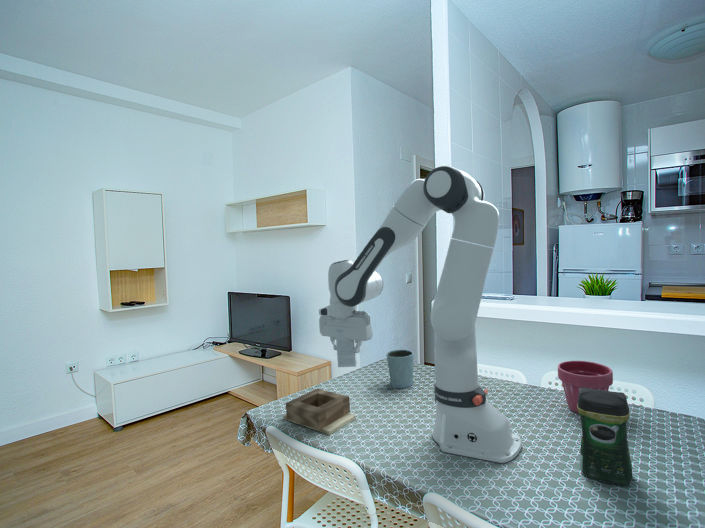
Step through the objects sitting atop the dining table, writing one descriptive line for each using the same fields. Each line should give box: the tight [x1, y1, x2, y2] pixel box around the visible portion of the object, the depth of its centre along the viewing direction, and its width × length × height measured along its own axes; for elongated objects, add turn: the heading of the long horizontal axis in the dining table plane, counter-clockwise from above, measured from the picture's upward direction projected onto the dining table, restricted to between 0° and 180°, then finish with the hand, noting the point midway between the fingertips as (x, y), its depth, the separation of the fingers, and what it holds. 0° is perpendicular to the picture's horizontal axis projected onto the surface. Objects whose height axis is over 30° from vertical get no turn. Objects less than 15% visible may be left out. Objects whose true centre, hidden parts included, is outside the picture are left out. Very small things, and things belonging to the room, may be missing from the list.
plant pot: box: [557, 360, 614, 414], centre depth 115 cm, size 14×14×13 cm
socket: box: [282, 388, 357, 436], centre depth 120 cm, size 20×14×6 cm
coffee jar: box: [577, 387, 633, 486], centre depth 83 cm, size 10×8×19 cm
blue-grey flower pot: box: [386, 349, 414, 389], centre depth 145 cm, size 10×10×12 cm
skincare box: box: [335, 330, 358, 368], centre depth 126 cm, size 6×4×12 cm
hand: (346, 351), depth 126 cm, fingers closed on skincare box, 7 cm apart
